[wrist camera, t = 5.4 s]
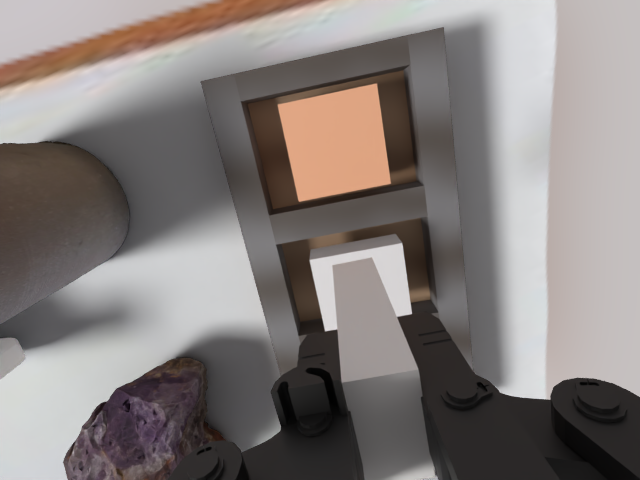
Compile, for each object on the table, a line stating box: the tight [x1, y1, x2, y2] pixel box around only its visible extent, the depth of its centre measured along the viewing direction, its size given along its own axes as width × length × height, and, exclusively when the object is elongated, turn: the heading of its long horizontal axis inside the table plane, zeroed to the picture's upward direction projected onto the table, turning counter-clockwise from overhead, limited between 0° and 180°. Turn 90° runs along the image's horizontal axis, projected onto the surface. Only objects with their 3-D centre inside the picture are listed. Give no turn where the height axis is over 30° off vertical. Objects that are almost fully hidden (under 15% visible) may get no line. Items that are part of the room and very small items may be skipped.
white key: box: [310, 234, 412, 331], centre depth 23 cm, size 6×6×2 cm
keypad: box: [201, 27, 473, 376], centre depth 26 cm, size 28×14×4 cm, turn 11°
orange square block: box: [278, 83, 391, 202], centre depth 21 cm, size 6×6×2 cm
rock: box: [63, 358, 227, 480], centre depth 28 cm, size 12×9×10 cm
